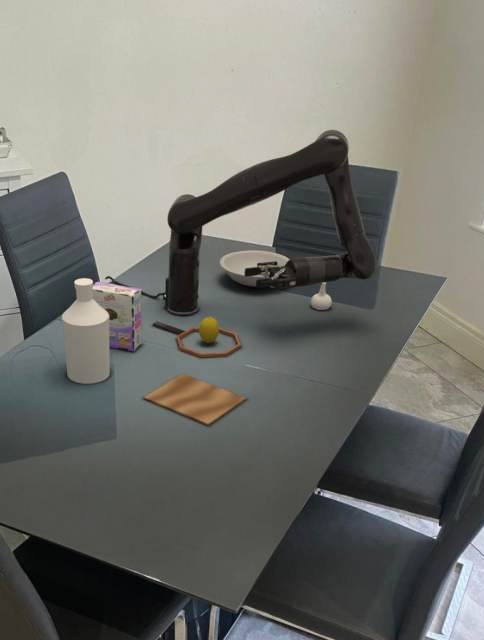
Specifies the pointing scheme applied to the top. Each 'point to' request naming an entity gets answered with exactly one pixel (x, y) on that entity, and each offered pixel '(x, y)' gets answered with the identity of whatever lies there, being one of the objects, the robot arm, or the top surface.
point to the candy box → (121, 314)
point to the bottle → (86, 337)
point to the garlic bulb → (321, 299)
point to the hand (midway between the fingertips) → (250, 278)
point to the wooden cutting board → (195, 399)
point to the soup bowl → (248, 264)
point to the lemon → (209, 330)
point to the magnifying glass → (183, 333)
